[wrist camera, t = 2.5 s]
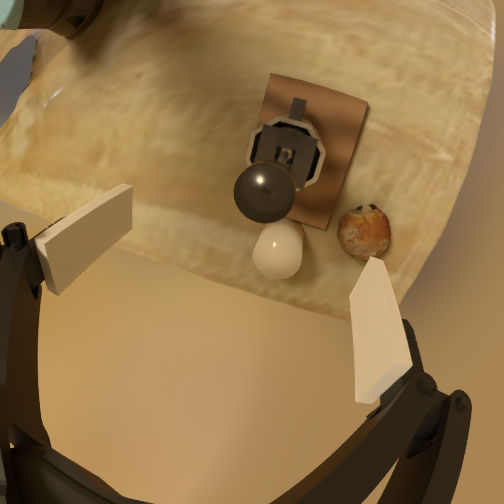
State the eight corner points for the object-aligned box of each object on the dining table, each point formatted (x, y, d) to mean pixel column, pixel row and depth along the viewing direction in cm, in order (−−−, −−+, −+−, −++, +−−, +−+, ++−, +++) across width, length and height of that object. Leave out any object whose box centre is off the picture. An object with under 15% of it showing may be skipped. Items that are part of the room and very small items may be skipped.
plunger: (265, 121, 32) (225, 135, 18) (319, 136, 32) (327, 163, 17) (253, 171, 36) (209, 224, 21) (304, 185, 36) (297, 251, 21)
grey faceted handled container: (272, 92, 38) (259, 88, 28) (332, 109, 37) (340, 110, 27) (255, 163, 45) (237, 182, 35) (311, 179, 44) (311, 204, 34)
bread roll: (331, 222, 52) (323, 253, 48) (357, 189, 44) (353, 222, 39) (371, 243, 53) (367, 276, 48) (401, 216, 44) (401, 250, 40)
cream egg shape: (267, 209, 50) (258, 230, 42) (309, 222, 49) (308, 245, 42) (256, 250, 55) (246, 277, 47) (294, 262, 54) (290, 290, 47)
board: (271, 74, 37) (270, 73, 36) (366, 102, 36) (368, 102, 35) (241, 201, 50) (240, 204, 49) (324, 227, 49) (325, 229, 48)
